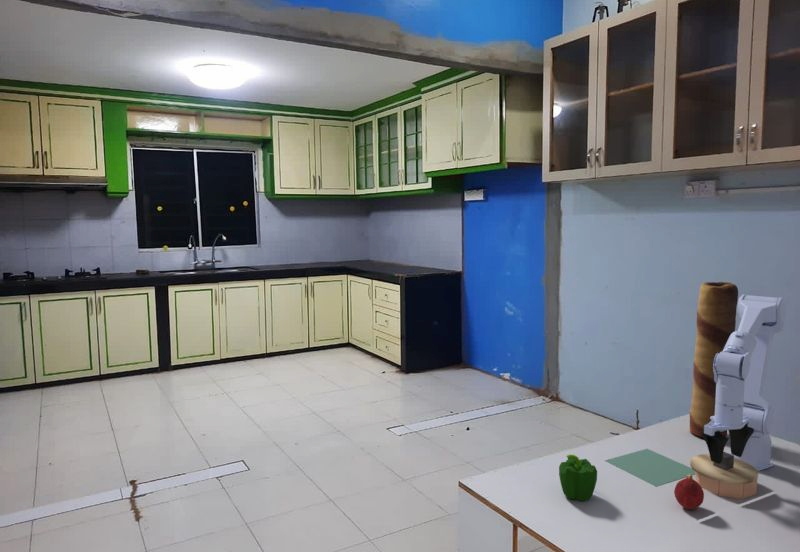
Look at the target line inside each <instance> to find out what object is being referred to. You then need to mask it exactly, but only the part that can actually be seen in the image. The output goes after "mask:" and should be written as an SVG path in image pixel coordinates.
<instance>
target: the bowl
mask: <svg viewBox="0 0 800 552" xmlns="http://www.w3.org/2000/svg"><path fill="white" fill-rule="evenodd" d="M694 478H695V481H696V482H697V483H698V484H699V485H700V486H701V487H702V489H703V490H706V491H707V492H710V493H712V494H714V495H715V496H716V495H717V496H719V497H727V498H735V499H746V498H749V497H752V496H754V495H757V494H758V493H757V490H758V479H757V480H756V481H754V482H751V483H746V484H734V483H726V482H721V481H717V480H713V479H710V478H707V477H705V476H703V475H701V474H699V473H697V472H696V471H695V474H694Z"/></svg>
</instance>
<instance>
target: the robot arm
mask: <svg viewBox="0 0 800 552" xmlns="http://www.w3.org/2000/svg"><path fill="white" fill-rule="evenodd" d="M736 311H737V315H738V317H739V320H740V322H739V326H738V329H737V330H735V332H733V333H732V334H731V335H730V337H729V339H728V341H727V343H726V345H725V347H724V349H723V351H722V352H720V353H717V354H716V355H715V358H714V363H713V371H714V381H715V382H716V399H715V416H711V417H710V419H711V420H712V421H711V422H710V423H708V424H707V425H704V430H702V433H701V434H702V436H703V438H702V439H704V442H705V444H706V447H707V449H708V454H710V458H711V461H713V462H715V463H718V464H720V463H721V461H722V457H723V452H725V451H724V450H725V447H726V444H727V442H728V441H729V442H730V443H729V445H730V451H729V454H731V455H734V458H736V459H739V460H741V461H744V462H746V463H748V464H750V465H752V466H753V467H754V468H755V469H756V470H757V471H764V470H766V469H769V468H772V467H774V466H775V464H774V463H773V462H771V457H772V456H771V455H772V443H773V442H772V438H771V436H770V433H771V432H772V429H773V425H774V410H775V408H774V406H773V404H772V403H771V402H770V401H769V400H768V399H767V398H766V397H764V389H765V383H766V379H767V378H766V377H767V372H768V365H769V359H770V354H771V347H772V342H773V339H774V337H775V334H777V333H778V334H779V333H780V332H782V331H783V328H784V326H785V321H786V315H787V301H786V300H785V298H784V297H781V296H780V297H773V296H760V295H759V296H758V295H750V294H744V293H743V294H742V295H741V296H740V297H738V302H737V308H736ZM725 430H727V432H728V434H729V437H728V436H727V437H724V436H722V434H721V432H722V431H725Z"/></svg>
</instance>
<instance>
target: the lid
mask: <svg viewBox="0 0 800 552" xmlns="http://www.w3.org/2000/svg"><path fill="white" fill-rule="evenodd" d="M689 464H690V468H692V469H693V470H694V471H696V472H697V473H699V474H701V475H703V476H705V477H707V478H710V479H713V480H717V481H721V482H726V483H734V484H746V483H751V482H754V481H756V480H757V481H758V478H759V473H758V471H759V470H758V471H757V470H756V469H755V468H754V467H753V466H752V465H750V464H748V463H746V462H744V461H741V460H739V459H736V458H734V455H731V454H730V452H729V453H728V452H726V451H723V457H722V461H721V463H720V464H718V463H715V462H713V461H711V458H710V454H709V453H704V454H697V455H694V456H692V457H691V458H690V462H689Z"/></svg>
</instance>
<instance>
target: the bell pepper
mask: <svg viewBox="0 0 800 552" xmlns="http://www.w3.org/2000/svg"><path fill="white" fill-rule="evenodd" d="M566 457H567V459H566V461H561V462H560V464H559V466H558V476H559V483H560V485H561V489H562V491H563V492H562V493H563V494H564V496H565V497H567V498H568V499H569V500H580V501H584V502H586V501H589V500H590V499H591V497H592V496H593V494H594V492H595V488H596V484H597V481H598V470H597V468H596V466H595V465H593V464H591V462H590V461H589V459H587V458H582V459H581V458H579V456H577V455H575V454H567V455H566Z"/></svg>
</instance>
